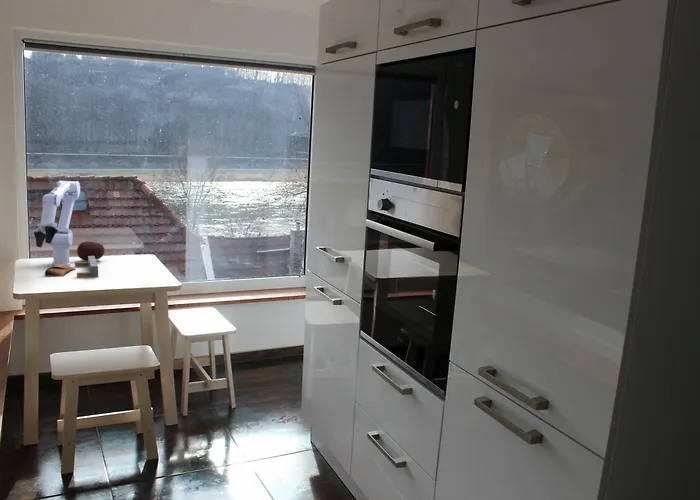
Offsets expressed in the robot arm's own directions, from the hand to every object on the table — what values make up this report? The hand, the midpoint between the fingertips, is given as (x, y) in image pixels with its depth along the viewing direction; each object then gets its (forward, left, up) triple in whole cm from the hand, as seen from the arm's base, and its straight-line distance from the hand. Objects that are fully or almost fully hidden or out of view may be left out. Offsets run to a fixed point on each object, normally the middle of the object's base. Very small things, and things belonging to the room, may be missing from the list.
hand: (43, 244), depth 291 cm
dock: (-1, +18, -14) cm, 23 cm away
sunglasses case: (-1, +7, -14) cm, 16 cm away
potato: (-27, +22, -14) cm, 38 cm away
